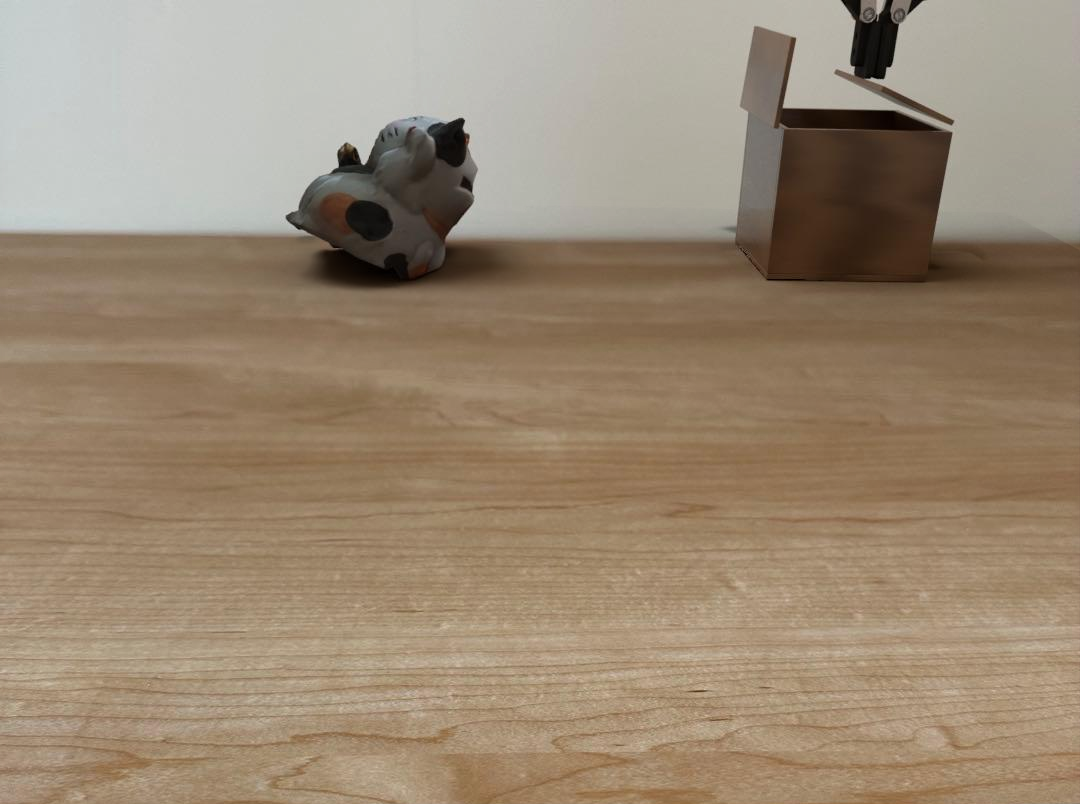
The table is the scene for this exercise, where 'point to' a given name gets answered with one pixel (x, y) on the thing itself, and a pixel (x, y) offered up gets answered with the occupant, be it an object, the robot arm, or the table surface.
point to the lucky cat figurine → (394, 196)
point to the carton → (834, 182)
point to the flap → (894, 97)
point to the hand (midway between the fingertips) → (868, 76)
